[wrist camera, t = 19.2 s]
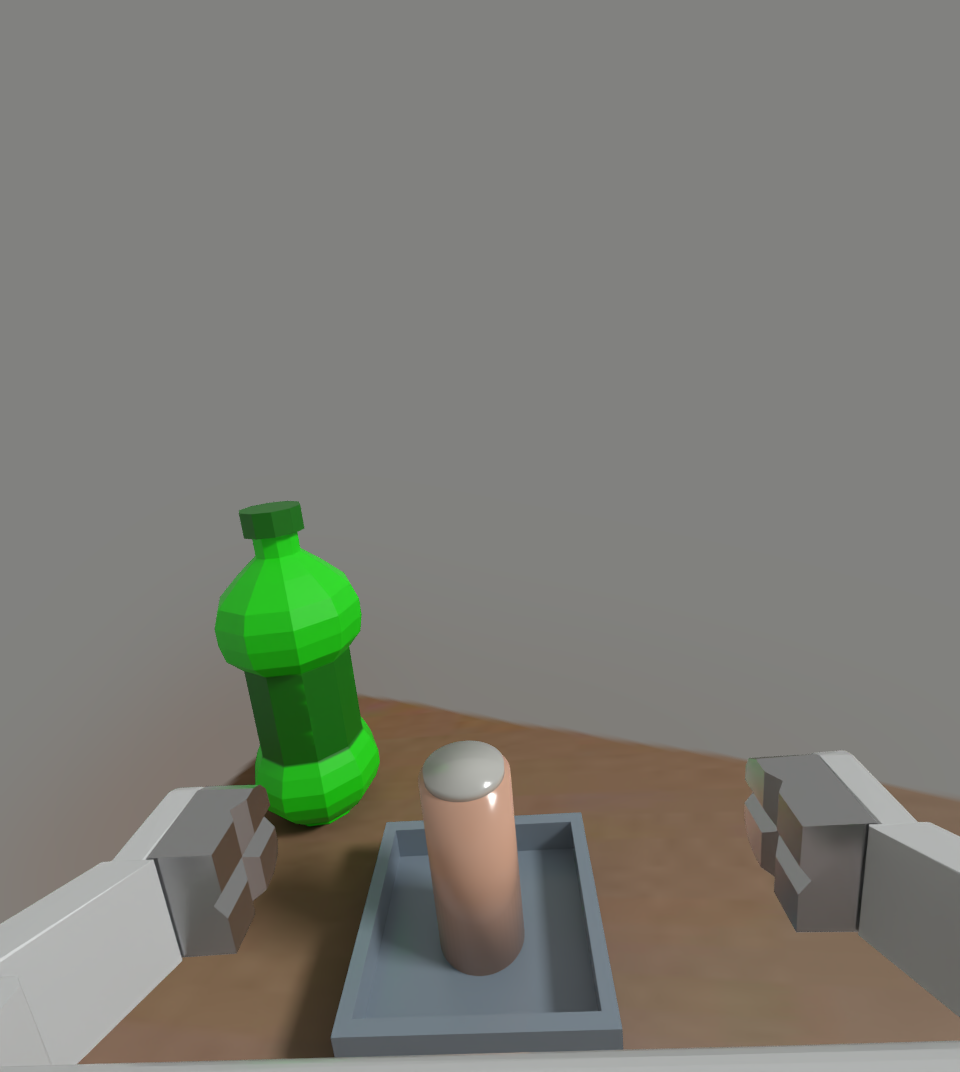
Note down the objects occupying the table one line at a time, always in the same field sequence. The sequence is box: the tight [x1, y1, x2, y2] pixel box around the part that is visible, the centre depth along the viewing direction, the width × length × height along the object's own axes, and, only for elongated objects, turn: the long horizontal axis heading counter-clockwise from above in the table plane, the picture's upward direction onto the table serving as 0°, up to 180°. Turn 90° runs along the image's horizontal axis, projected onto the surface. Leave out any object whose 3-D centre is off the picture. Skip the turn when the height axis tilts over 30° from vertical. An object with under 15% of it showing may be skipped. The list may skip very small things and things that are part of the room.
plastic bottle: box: [215, 501, 380, 826], centre depth 44 cm, size 10×10×25 cm
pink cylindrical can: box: [418, 741, 525, 976], centre depth 32 cm, size 5×5×12 cm
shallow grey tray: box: [331, 813, 623, 1057], centre depth 33 cm, size 14×14×3 cm
